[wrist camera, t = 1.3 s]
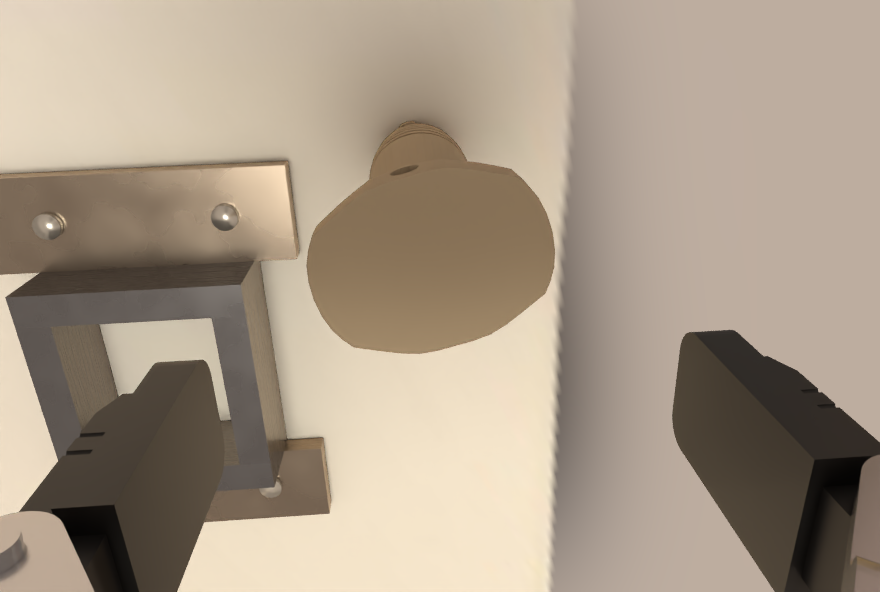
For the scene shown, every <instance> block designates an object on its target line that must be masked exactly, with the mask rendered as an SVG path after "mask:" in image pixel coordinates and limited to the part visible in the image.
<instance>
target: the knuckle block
mask: <svg viewBox="0 0 880 592" xmlns="http://www.w3.org/2000/svg"><path fill="white" fill-rule="evenodd" d="M298 255H299V244H298V236H297V228H296V220H295V212H294V204H293V197H292V189H291V181H290V173H289V165H288V161H274V162H252V163H231V164H210V165H188V166H167V167H145V168H124V169H102V170H81V171H59V172H38V173H16V174H0V275H2V274H21V273H39V274H38V275H36V276H35V277H34V278H32V279H31V280H29V281H28V282H26V283H25V284H24V285H22V286H21V287H19V288H18V289H17V290H15V291H14V292H12V293H11V294H10V295H8V296H7V297H5V298H6V301H7V304H8V307H9V310H10V313H11V316H12V319H13V322H14V325H15V329H16V332H17V335H18V338H19V341H20V344H21V347H22V350H23V353H24V356H25V359H26V362H27V366H28V369H29V372H30V375H31V378H32V381H33V384H34V387H35V390H36V393H37V396H38V399H39V403H40V406H41V409H42V412H43V415H44V418H45V421H46V424H47V427H48V430H49V433H50V436H51V440H52V443H53V446H54V449H55V452H56V455H57V458H58V461H59V460H60V458H61V457H62V456H66V451H67V449H68V448H69V447H70V445H71V444H72V443H73V442H74V440H75V439H76V438H80V433H81V431H82V430H83V429H84V427H85V426H86V425H87V424H88V422H89V421H90V420H91V418H92V417H93V416H94V414H95V413H96V412H98V411H99V410H101V409H102V408H103V407H105V406H106V405H108V404H109V403H111V402H112V401H114V400H115V399H116V398H118V394H117V391H116V387H115V383H114V379H113V376H112V372H111V368H110V365H109V361H108V357H107V353H106V350H105V346H104V342H103V338H102V335H101V331H100V327H99V324H111V323H129V322H147V321H165V320H182V319H200V318H212V322H213V327H214V332H215V338H216V343H217V348H218V353H219V359H220V364H221V369H222V374H223V379H224V385H225V390H226V395H227V400H228V406H229V411H230V416H231V421H220V423H221V428H222V433H223V439H224V449H225V458H224V468H223V473H222V477H221V480H220V482H219V485H218V487H217V490H216V493H215V495H214V498H213V500H212V503H211V505H210V508H209V511H208V513H207V516H206V518H205V521H204V522H213V521H227V520H242V519H256V518H271V517H286V516H300V515H315V514H329V513H330V506H331V496H330V488H329V481H328V473H327V465H326V457H325V449H324V441H323V438H311V439H296V440H287V436H286V430H285V423H284V417H283V410H282V404H281V397H280V390H279V384H278V377H277V371H276V364H275V358H274V351H273V345H272V338H271V332H270V325H269V319H268V312H267V306H266V299H265V293H264V286H263V279H262V273H261V266H260V261H267V260H286V259H297V257H298ZM40 272H41V273H40Z"/></svg>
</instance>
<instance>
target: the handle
mask: <svg viewBox="0 0 880 592" xmlns="http://www.w3.org/2000/svg"><path fill="white" fill-rule="evenodd" d="M554 259H555V248H554V240H553V233H552V229H551V226H550V223H549V219H548V216H547V213H546V211H545V209H544V208H543V206H542V204H541V202H540V200H539V198H538V197H537V195H536V194H535V193H534V192H533V191H532V189H531V188H530V187H529V186H528V185H527V184H526V182H525V181H524V180H523V179H522V178H521V177H520V176H518V175H517V174H516V173H515V172H514V171H513V170H511V169H508V168H504V167H499V166H494V165H488V164H482V163H476V162H467V160H466V158H465V156H464V154H463V152H462V150H461V149H460V147H459V146H458V145H457V143H456V142H455V141H454V140H453V139H452V138H451V137H450V136H448V135H447V134H446V133H445V132H443V131H442V130H441V129H438V128H436V127H433V126H430V125H427V124H416V123H415V122H414V121H410V122H405V123H403V124H401V125H400V126H399V129H397V130H395V131H394V132H393V133H391V134H390V135H389V136H388V137H387V138H386V139H385V140H384V141H383V142H382V144H381V146H380V147H379V149H378V151H377V152H376V155H375V157H374V159H373V162H372V166H371V170H370V178H369V181H367V182H366V183H365V184H364V185H362V186H361V187H360V188H358V189H357V190H356V191H355V192H353V193H352V194H351V195H350V196H349V197H348V198H346V199H345V200H344V201H343V202H342V203H340V204H339V205H338V206H337V207H336V208H335V209H334V210H333V211H332V212H331V213H330V214H329V215H328V216H327V217H325V218H324V219H323V220H322V221H321V222H320V223H319V224H318V225H317V227H316V228H315V230H314V233H313V235H312V238H311V242H310V246H309V250H308V257H307V273H308V281H309V285H310V289H311V292H312V295H313V299H314V301H315V303H316V305H317V307H318V309H319V311H320V313H321V315H322V317H323V318H324V320H325V321H326V323H327V324H328V325H329V327H330V328H331V329H332V330H333V331H334V332H335V333H336V334H337V335H338V336H339V337H340V338H341V339H342V340H344V341H345V342H347V343H348V344H350V345H351V346H353V347H355V348H362V349H370V350H377V351H385V352H394V353H406V354H422V353H427V352H433V351H438V350H442V349H445V348H449V347H453V346H456V345H460V344H463V343H467V342H471V341H474V340H477V339H479V338H482V337H485V336H487V335H490V334H492V333H493V332H495V331H497V330H498V329H500V328H502V327H503V326H505V325H506V324H508V323H509V322H510V321H512V320H513V319H514V318H515V317H517V316H518V315H519V314H521V313H522V312H523V311H524V310H526V309H527V308H528V307H529V306H531V305H532V304H533V303H534V302H535V301H537V300H538V299H539V298H540V297H542V296H543V295H544V294H545V293H546V290H547V288H548V286H549V283H550V281H551V277H552V273H553V269H554Z"/></svg>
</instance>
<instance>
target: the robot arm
mask: <svg viewBox="0 0 880 592" xmlns="http://www.w3.org/2000/svg"><path fill="white" fill-rule="evenodd" d="M672 417H673V418H672V419H673V429H674V434H675V437H676V440H677V443H678V445H679V447H680V449H681V451H682V452H683V454H684V455H685V457H686V458H687V460H688V461H689V463H690V464H691V466H692V467H693V469H694V470H695V472H696V473H697V475H698V476H699V478H700V479H701V481H702V482H703V484H704V485H705V487H706V488H707V490H708V492H709V493H710V494H711V496H712V497H713V499H714V501H715V502H716V503H717V505H718V507H719V508H720V510H721V511H722V513H723V514H724V516H725V517H726V519H727V520H728V522H729V523H730V525H731V526H732V528H733V529H734V530H735V532H736V534H737V535H738V536H739V538H740V540H741V541H742V543H743V544H744V546H745V547H746V549H747V550H748V552H749V553H750V555H751V556H752V558H753V559H754V561H755V562H756V564H757V565H758V567H759V569H760V570H761V571H762V573H763V575H764V576H765V577H766V579H767V581H768V582H769V583H770V585H771V587H772V588H773V590H774V591H775V592H880V442H878V441H877V440H876V439H875V438H874V437H873V436H872V435H870V434H869V433H868V432H867V431H866V430H864V428H862V427H861V426H860V425H859V424H858V423H857V422H856V421H854V420H853V419H852V418H851V417H850V416H849V415H847V414H846V413H845V412H844V411H843V410H842V409H840V408H836V407H835V403H834V402H833V401H831V400H830V399H829V398H828V397H827V396H826V395H825V394H823V393H822V392H821V393H819V392H818V388H817V387H815V386H814V385H813V384H812V383H811V382H809V381H808V380H807V379H806V378H805V377H804V376H803V375H802V374H800V373H799V372H798V371H797V370H795V369H793V368H791V367H788V366H786V365H784V364H782V363H780V362H778V361H776V360H774V359H772V358H770V357H768V356H765V357H764V356H763V355H761V354H760V353H759V352H758V351H757V350H756V349H755V348H754V347H753V346H752V345H750V344H749V343H748V342H747V341H746V340H745V339H744V338H743V337H741V335H740V334H738V333H737V332H736V331H734V330H723V331H707V332H706V331H705V332H689V333H687V334H686V335H685V336H684V337H683V340H682V343H681V347H680V355H679V363H678V372H677V379H676V387H675V396H674V404H673V414H672ZM224 458H225V449H224V439H223V433H222V428H221V423H220V418H219V413H218V408H217V403H216V398H215V393H214V387H213V382H212V377H211V373H210V369H209V367H208V364H207V363H206V362H205V361H204V360H192V361H175V362H158V363H155V364H154V365H153V366H152V368H151V369H150V371H149V372H148V373H147V375H146V376H145V378H144V379H143V380H142V382H141V383H140V385H139V386H138V387H137V389H136V390H135V392H134V393H133V394H122V395H121V396H119V397H118V398H116V399H115V400H114V401H112V402H111V403H109V404H108V405H106V406H105V407H103V408H102V409H101V410H99V411H98V412H96V413H95V414H94V416H93V417H92V418H91V420H90V421H89V422H88V424H87V425H86V426H85V427H84V429H83V430H82V431H81V433H80V438H76V439H75V440H74V442H73V443H72V444H71V445H70V447H69V448H68V449H67V451H66V456H62V457H61V458H60V460H59V461H58V462H57V464H56V465H55V466H54V467H53V469H52V470H51V471H50V473H49V474H48V475H47V476H46V478H45V479H44V480H43V482H42V483H41V484H40V485H39V487H38V488H37V489H36V491H35V492H34V493H33V495H32V496H31V497H30V498H29V500H28V501H27V502H26V504H25V505H24V506H23V507H22V509H21V510H20V511H19V512H17V513H12V514H8V515H4V516H1V517H0V592H177V590H178V588H179V585H180V583H181V580H182V578H183V575H184V572H185V570H186V567H187V565H188V562H189V560H190V557H191V554H192V552H193V549H194V547H195V544H196V542H197V539H198V536H199V534H200V531H201V529H202V526H203V523H204V521H205V518H206V516H207V513H208V511H209V508H210V505H211V503H212V500H213V498H214V495H215V493H216V490H217V487H218V485H219V482H220V480H221V477H222V473H223V468H224Z"/></svg>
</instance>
